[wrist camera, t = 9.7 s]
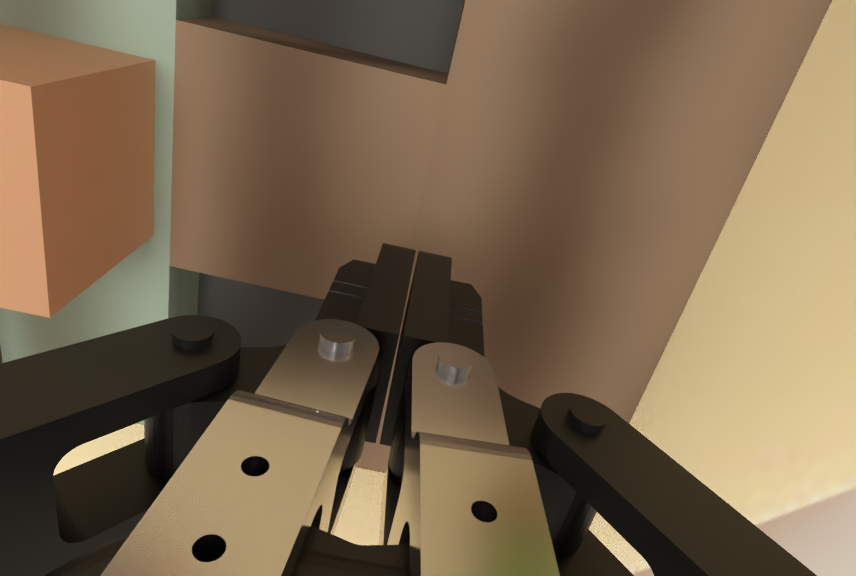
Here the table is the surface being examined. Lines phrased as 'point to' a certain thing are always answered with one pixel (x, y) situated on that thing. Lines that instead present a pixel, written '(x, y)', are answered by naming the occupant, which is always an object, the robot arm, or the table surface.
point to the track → (439, 165)
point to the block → (70, 166)
